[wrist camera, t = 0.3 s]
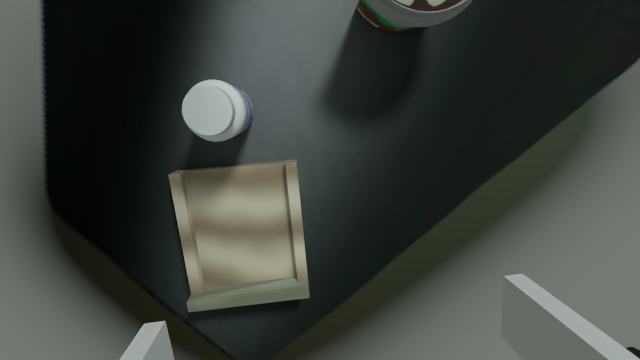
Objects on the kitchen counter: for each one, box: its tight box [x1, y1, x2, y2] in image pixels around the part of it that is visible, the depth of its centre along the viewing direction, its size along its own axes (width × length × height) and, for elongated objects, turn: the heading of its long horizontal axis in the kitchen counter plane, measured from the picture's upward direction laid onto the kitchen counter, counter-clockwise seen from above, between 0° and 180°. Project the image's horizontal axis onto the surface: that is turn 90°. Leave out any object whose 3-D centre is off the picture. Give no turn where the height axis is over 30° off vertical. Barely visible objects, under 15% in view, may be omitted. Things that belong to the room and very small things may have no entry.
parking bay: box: [168, 160, 310, 312], centre depth 36 cm, size 15×13×4 cm
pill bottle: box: [182, 80, 254, 142], centre depth 30 cm, size 5×5×10 cm
